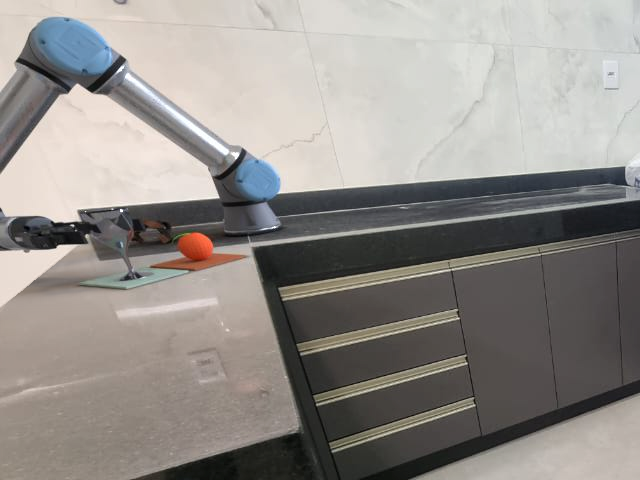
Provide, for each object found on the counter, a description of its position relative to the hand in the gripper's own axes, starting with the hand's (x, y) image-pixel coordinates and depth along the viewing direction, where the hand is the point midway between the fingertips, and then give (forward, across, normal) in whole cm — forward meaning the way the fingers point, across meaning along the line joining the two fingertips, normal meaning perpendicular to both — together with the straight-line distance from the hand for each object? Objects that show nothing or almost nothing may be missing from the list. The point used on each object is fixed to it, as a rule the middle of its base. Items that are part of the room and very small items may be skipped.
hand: (114, 230), depth 118 cm
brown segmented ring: (-33, -40, -11) cm, 53 cm away
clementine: (+3, -14, -11) cm, 18 cm away
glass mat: (0, 0, -11) cm, 11 cm away
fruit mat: (+3, -14, -11) cm, 18 cm away
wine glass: (0, 0, -11) cm, 11 cm away
